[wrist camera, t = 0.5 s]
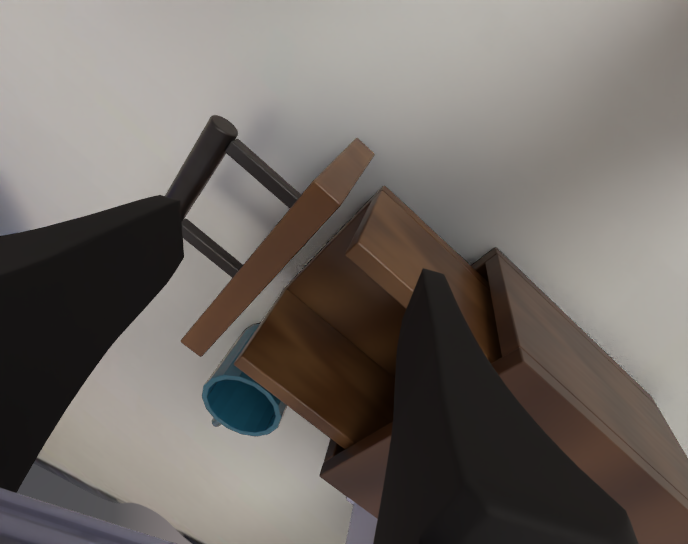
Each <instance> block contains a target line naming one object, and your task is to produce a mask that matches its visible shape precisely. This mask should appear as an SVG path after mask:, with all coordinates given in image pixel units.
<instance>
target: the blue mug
mask: <svg viewBox="0 0 688 544" xmlns="http://www.w3.org/2000/svg"><path fill="white" fill-rule="evenodd" d="M260 324H261V323H259V324H254V325H252V326H250V327H248V328H246V329H245V330H244V331H243V333H242V334H241V335H240V336H239V337H238V339H237V340H236V342H235V343H234V344H233V346H232V347H231V348H230V350H229V351H228V353H227V354H226V355H225V357H224V358H223V360H222V361H221V362H220V364H219V365H218V367H217V368H216V369H215V371H214V372H213V373H212V375H211V376H210V378H209V379H208V380H207V382H206V383H205V385H204V386H203V392H202V399H203V401H204V404H205V407H206V409H207V410H208V411H209V413H210V414H211V415H212V416H213V419H212V424H213V426H215V427H218V426H220V425H221V424H222V425H223V426H225V427H226V428H228V429H230V430H232V431H235V432H237V433H240V434H243V435H250V436H261V435H267V434H270V433H271V432H272V431H274V430H275V429H277V428H278V426H279V424H280V421H281V419H282V417H283V415H284V412H285V410H286V408H287V405H286V404H285V403H283V402H282V401H281V400H280V399H278V398H277V397H276V396H274V395H273V394H272V393H270V392H269V391H268V390H266V389H265V388H264V387H262V386H261V385H260V384H258V383H257V382H256V381H255V380H253V379H252V378H251V377H249V376H248V375H247V374H245V373H244V372H243V371H241V370H240V369H239V368H237V367H236V366H235V365H234V362H235V361H236V359H237V358H238V356H239V355H240V353H241V352H242V350H243V349H244V347H245V346H246V344H247V343H248V341H249V340H250V338H251V337H252V335H253V334H254V333H255V331H256V330H257V328H258V327H259V325H260Z"/></svg>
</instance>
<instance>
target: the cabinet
mask: <svg viewBox="0 0 688 544" xmlns="http://www.w3.org/2000/svg"><path fill="white" fill-rule="evenodd" d="M471 267H472V268H474V269H475V270H476V271H477V272H478V273H479V274H480V275H481V276H482V277H483V278H484V279H485V280H486V281H487V282H489V286H490V292H491V298H492V303H493V309H494V315H495V320H496V326H497V332H498V337H499V343H500V349H501V354H502V358H500V359H498V360H497V361H495V362H493V363H491V365H492V366H493V368H494V369H495V371H496V372H497V373H498V375H499V376H500V378H501V379H502V380H503V382H504V383H505V385H506V386H507V387H508V389H509V390H510V391H511V393H512V394H513V395H514V396H515V398H516V399H517V400H518V401H519V403H520V404H521V405H522V406H523V407H524V409H525V410H526V411H527V412H528V413H529V414H530V416H531V417H532V418H533V419H534V420H535V422H536V423H537V424H538V425H539V426H540V427H541V428H542V429H543V431H544V432H545V433H546V434H547V435H548V436H549V437H550V438H551V439H552V440H553V441H554V442H555V443H556V444H557V445H558V446H559V448H560V449H561V450H562V451H563V452H564V453H565V454H566V455H567V456H568V457H569V458H570V459H571V460H572V461H573V462H574V463H575V464H576V465H577V466H578V467H579V468H580V469H581V470H582V471H583V472H585V473H586V474H587V475H588V476H589V477H590V478H591V479H592V480H593V481H594V482H595V483H597V484H598V485H599V486H600V487H601V488H602V489H603V490H604V491H605V492H606V493H607V494H609V495H610V496H611V497H612V498H613V499H614V500H615V501H616V502H617V503H618V504H619V505H621V506H622V507H623V508H624V509H625V510H626V512H627V514H628V517H629V519H630V521H631V524H632V527H633V530H634V532H635V535H636V538H637V541H638V543H639V544H688V458H687V456H686V454H685V453H684V451H683V449H682V448H681V446H680V444H679V443H678V441H677V439H676V437H675V436H674V434H673V432H672V431H671V429H670V427H669V425H668V424H667V422H666V420H665V419H664V417H663V415H662V413H661V412H660V410H659V408H658V407H657V405H656V403H655V402H654V400H653V398H652V397H651V396H650V395H649V394H648V393H647V392H646V391H645V390H644V389H643V388H642V387H641V386H640V385H639V384H638V383H637V382H636V381H635V380H634V379H632V378H631V377H630V376H629V375H628V374H627V373H626V372H625V371H624V370H623V369H622V368H621V367H620V366H619V365H618V364H617V363H616V362H615V361H614V360H613V359H612V358H611V357H610V356H609V355H608V354H607V353H605V352H604V351H603V350H602V349H601V348H600V347H599V346H598V345H597V344H596V343H595V342H594V341H593V340H592V339H591V338H590V337H589V336H588V335H587V334H586V333H585V332H584V331H583V330H582V329H581V328H579V327H578V326H577V325H576V324H575V323H574V322H573V321H572V320H571V319H570V318H569V317H568V316H567V315H566V314H565V313H564V312H563V311H562V310H561V309H560V308H559V307H558V306H557V305H556V304H555V303H553V302H552V301H551V300H550V299H549V298H548V297H547V296H546V295H545V294H544V293H543V292H542V291H541V290H540V289H539V288H538V287H537V286H536V285H535V284H534V283H533V282H532V281H531V280H530V279H529V278H528V277H526V276H525V275H524V274H523V273H522V272H521V271H520V270H519V269H518V268H517V267H516V266H515V265H514V264H513V263H512V262H511V261H510V260H509V259H508V258H507V257H506V256H505V255H504V254H503V253H502V252H500V251H499V250H498V249H497V248H496V247H495V248H494V249H492V250H491V251H490V252H488V253H487V254H486V255H485V256H483V257H482V258H481V259H479V260H478V261H477V262H475V263H474V264H473V265H471ZM392 425H393V422H391V423H390V424H388V425H386V426H384V427H383V428H381V429H379V430H378V431H376V432H374V433H373V434H371V435H369V436H367V437H366V438H364V439H362V440H361V441H359V442H357V443H356V444H354V445H352V446H350V447H349V448H347V449H344V448H343V447H341V446H340V445H339V444H337V443H336V442H335V441H333V440H332V439H330V443H329V446H328V449H327V453H326V456H325V459H324V463H323V466H322V469H321V472H320V477H321V478H322V479H324V480H325V481H326V482H328V483H329V484H331V485H332V486H333V487H335V488H336V489H337V490H339V491H340V492H341V493H343V494H344V495H346V496H347V497H348V498H350V499H351V500H352V501H354V502H355V503H356V504H358V505H359V506H360V507H362V508H363V509H365V510H366V511H367V512H369V513H370V514H371V515H373V516H374V517H375V518H377V519H378V514H379V509H380V503H381V497H382V491H383V485H384V479H385V473H386V467H387V460H388V454H389V448H390V441H391V435H392Z"/></svg>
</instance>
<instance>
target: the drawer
mask: <svg viewBox="0 0 688 544" xmlns="http://www.w3.org/2000/svg"><path fill="white" fill-rule="evenodd" d="M237 135H238V131H237V129H236V128H235V126H234V125H233V124H232V123H231V122H229V121H228V120H227V119H225V118H223V117H221V116H218V115H213V116H211V117H210V119H209V121H208V123H207V124H206V126H205V128H204V130H203V131H202V133H201V135H200V136H199V138H198V140H197V142H196V143H195V145H194V147H193V148H192V150H191V152H190V154H189V155H188V157H187V159H186V160H185V162H184V164H183V166H182V167H181V169H180V171H179V173H178V174H177V176H176V178H175V179H174V181H173V183H172V185H171V186H170V188H169V190H168V191H167V193H166V195H165V197H169V198H172V199H176V200H180V208H181V222H182V236H183V238H184V239H185V240H186V241H188V242H189V243H190V244H191V245H193V246H194V247H195V248H196V249H197V250H199V251H200V252H201V253H202V254H204V255H205V256H206V257H207V258H209V259H210V260H211V261H212V262H214V263H215V264H216V265H217V266H218V267H220V268H221V269H222V270H223V271H225V272H226V273H227V274H228V275H230V276H231V277H232V279H231V280H230V282H229V283H228V284H227V285H226V286H225V288H224V289H223V290H222V291H221V293H220V294H219V295H218V296H217V297H216V299H215V300H214V301H213V302H212V303H211V305H210V306H209V307H208V308H207V309H206V311H205V312H204V313H203V314H202V315H201V317H200V318H199V319H198V320H197V321H196V323H195V324H194V325H193V326H192V327H191V329H190V330H189V331H188V332H187V333H186V335H185V336H184V337H183V338H182V340H181V343H183V344H184V345H185V346H187V347H188V348H189V349H191V350H192V351H193V352H195V353H196V354H197V355H199V356H200V357H201V356H203V355H204V354H205V352H206V351H207V350H208V349H209V348H210V347H211V346H212V345H213V344H214V343H215V342H216V340H217V339H218V338H219V337H220V336H221V335H222V334H223V333H224V332H225V331H226V330H227V329H228V327H229V326H230V325H231V324H232V323H233V322H234V321H235V320H236V319H237V318H238V317H239V315H240V314H241V313H242V312H243V311H244V310H245V309H246V308H247V307H248V306H249V305H250V303H251V302H252V301H253V300H254V299H255V298H256V297H257V296H258V295H259V294H260V293H261V291H262V290H263V289H264V288H265V287H266V286H267V285H268V284H269V283H270V282H271V281H272V280H273V278H274V277H275V276H276V275H277V274H278V273H279V272H280V271H281V270H282V269H283V268H284V266H285V265H286V264H287V263H288V262H289V261H290V260H291V259H292V258H293V257H294V256H295V254H296V253H297V252H298V251H299V250H300V249H301V248H302V247H303V246H304V245H305V244H306V243H307V241H308V240H309V239H310V238H311V237H312V236H313V235H314V234H315V233H316V232H317V231H318V229H319V228H320V227H321V226H322V225H323V224H324V223H325V222H326V221H327V220H328V219H329V217H330V216H331V215H332V214H333V213H334V212H335V211H336V210H337V209H338V208H339V207H340V205H341V204H342V203H343V201H344V200H345V198H346V197H347V195H348V194H349V192H350V191H351V189H352V188H353V186H354V185H355V183H356V182H357V180H358V179H359V177H360V176H361V174H362V173H363V171H364V170H365V168H366V167H367V166H368V164H369V163H370V161H371V160H372V158H373V157H374V155H375V154H374V153H373V152H372V151H371V150H370V149H369V148H368V147H367V146H366V145H365V144H364V143H362V142H361V141H360V140H359V139H358V138H356V139H355V140H354V141H353V142H352V143H351V144H350V145H349V146H348V147H347V148H346V149H345V150H344V151H343V152H342V153H341V154H340V155H339V156H338V157H337V158H336V159H335V160H334V161H333V162H332V163H331V164H330V165H329V166H328V167H327V168H326V169H325V170H324V171H323V172H322V173H321V174H320V175H319V176H318V177H317V178H315V179H314V180H313V182H312V183H311V184H310V185H309V186H308V188H307V189H306V190H305V191H304V192H303V194H302V195H301V194H300V193H299V192H298V191H296V190H295V189H294V188H293V187H292V186H291V185H290V184H289V183H287V182H286V181H285V180H284V179H283V178H282V177H281V176H280V175H278V174H277V173H276V172H275V171H274V170H273V169H272V168H271V167H269V166H268V165H267V164H266V163H265V162H264V161H263V160H261V159H260V158H259V157H258V156H257V155H256V154H255V153H254V152H252V151H251V150H250V149H249V148H248V147H247V146H246V145H245V144H243V143H242V142H241V141H240V140H239V139H236V137H237ZM235 139H236V140H235ZM226 153H227V154H228V155H229V156H230V157H231V158H233V159H234V160H235V161H236V162H237V163H238V164H239V165H241V166H242V167H243V168H244V169H245V170H246V171H247V172H249V173H250V174H251V175H252V176H253V177H254V178H256V179H257V180H258V181H259V182H260V183H261V184H262V185H264V186H265V187H266V188H267V189H268V190H269V191H270V192H272V193H273V194H274V195H275V196H276V197H277V198H278V199H280V200H281V201H282V202H283V203H284V204H285V205H286V206H288V207H289V208H290V209H289V211H288V212H287V213H286V214H285V215H284V217H283V218H282V219H281V220H280V221H279V223H278V224H277V225H276V226H275V227H274V229H273V230H272V231H271V232H270V233H269V235H268V236H267V237H266V238H265V239H264V241H263V242H262V243H261V244H260V245H259V247H258V248H257V249H256V250H255V252H254V253H253V254H252V255H251V256H250V258H249V259H248V260H247V261H246V262H245V264H244V265H242V264H241V263H240V262H239V261H238V260H236V259H235V258H234V257H233V256H231V255H230V254H229V253H228V252H227V251H225V250H224V249H223V248H222V247H220V246H219V245H218V244H217V243H216V242H214V241H213V240H212V239H211V238H209V237H208V236H207V235H206V234H205V233H203V232H202V231H201V230H200V229H198V228H197V227H196V226H195V225H194V224H192V223H191V222H190V221H189V220H188V219H184V218H185V217H186V215H187V213H188V212H189V210H190V209H191V207H192V206H193V204H194V203H195V201H196V199H197V198H198V196H199V195H200V193H201V192H202V190H203V189H204V187H205V185H206V184H207V182H208V181H209V179H210V178H211V176H212V175H213V173H214V171H215V170H216V168H217V167H218V165H219V164H220V162H221V161H222V159H223V157H224V156H225V154H226ZM423 268H424V269H428V270H432V271H435V272H439V273H442V274H444V275H445V277H446V279H447V281H448V283H449V286H450V288H451V290H452V292H453V295H454V297H455V299H456V301H457V303H458V306H459V308H460V310H461V312H462V314H463V316H464V318H465V320H466V322H467V324H468V326H469V328H470V330H471V331H472V333H473V335H474V337H475V339H476V341H477V342H478V344H479V346H480V347H481V349H482V351H483V352H484V354H485V356H486V357H487V359H488V360H489V362H490V363H493V362H495V361H497V360H498V359H500V358H502V354H501V349H500V343H499V337H498V332H497V326H496V320H495V315H494V309H493V303H492V298H491V292H490V286H489V282H487V281H486V280H485V279H484V278H483V277H482V276H481V275H480V274H479V273H478V272H477V271H476V270H475V269H474V268H472V267H471V266H470V265H469V264H468V263H467V262H466V261H465V260H464V259H463V258H462V257H461V256H460V255H459V254H458V253H456V252H455V251H454V250H453V249H452V248H451V247H450V246H449V245H448V244H447V243H446V242H445V241H444V240H443V239H441V238H440V237H439V236H438V235H437V234H436V233H435V232H434V231H433V230H432V229H431V228H430V227H429V226H428V225H426V224H425V223H424V222H423V221H422V220H421V219H420V218H419V217H418V216H417V215H416V214H415V213H414V212H413V211H412V210H410V209H409V208H408V207H407V206H406V205H405V204H404V203H403V202H402V201H401V200H400V199H399V198H398V197H397V196H395V195H394V194H393V193H392V192H391V191H390V190H389V189H388V188H387V187H386V186H382V188H381V189H380V190H379V191H378V192H377V193H376V194H375V195H374V196H373V197H372V198H371V199H370V200H369V201H368V202H367V203H366V204H365V205H364V206H363V207H362V208H361V209H360V210H359V211H358V212H357V213H356V215H355V216H354V217H353V218H352V219H351V220H350V221H349V222H348V223H347V224H346V225H345V226H344V227H343V228H342V229H341V230H340V231H339V232H338V233H337V234H336V235H335V236H334V237H333V238H332V239H331V240H330V242H329V243H328V244H327V245H326V246H325V247H324V248H323V249H322V250H321V251H320V252H319V253H318V254H317V255H316V256H315V257H314V258H313V259H312V260H311V261H310V262H309V263H308V264H307V265H306V266H305V267H304V269H303V270H302V271H301V272H300V273H299V274H298V275H297V276H296V277H295V278H294V279H293V280H292V281H291V282H290V283H289V284H288V285H287V286H286V287H285V288H284V290H283V291H282V293H281V294H280V296H279V297H278V299H277V300H276V301H275V303H274V304H273V306H272V307H271V309H270V310H269V312H268V313H267V315H266V316H265V318H264V319H263V321H262V322H261V324H260V325H259V327H258V328H257V330H256V331H255V333H254V334H253V335H252V337H251V338H250V340H249V341H248V343H247V344H246V346H245V347H244V349H243V350H242V352H241V353H240V355H239V356H238V358H237V359H236V361H235V362H234V365H235V366H236V367H237V368H239V369H240V370H241V371H243V372H244V373H245V374H247V375H248V376H249V377H251V378H252V379H253V380H255V381H256V382H257V383H258V384H260V385H261V386H262V387H264V388H265V389H266V390H268V391H269V392H270V393H272V394H273V395H274V396H276V397H277V398H278V399H280V400H281V401H282V402H283V403H285V404H286V405H287V406H289V407H290V408H291V409H293V410H294V411H295V412H297V413H298V414H299V415H301V416H302V417H303V418H304V419H306V420H307V421H308V422H310V423H311V424H312V425H314V426H315V427H316V428H318V429H319V430H320V431H322V432H323V433H324V434H325V435H327V436H328V437H329V438H331V439H332V440H333V441H335V442H336V443H337V444H339V445H340V446H341V447H343V448H344V449H347V448H349V447H350V446H352V445H354V444H356V443H357V442H359V441H361V440H362V439H364V438H366V437H367V436H369V435H371V434H373V433H374V432H376V431H378V430H379V429H381V428H383V427H384V426H386V425H388V424H390V423H391V422H393V410H394V391H395V372H396V355H397V345H398V340H399V334H400V329H401V323H402V319H403V316H404V314H405V311H406V309H407V306H408V304H409V301H410V299H411V296H412V294H413V291H414V289H415V286H416V284H417V281H418V279H419V276H420V274H421V271H422V269H423Z"/></svg>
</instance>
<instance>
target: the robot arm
mask: <svg viewBox="0 0 688 544" xmlns="http://www.w3.org/2000/svg"><path fill="white" fill-rule="evenodd" d="M183 258H184V250H183V236H182V222H181V208H180V200H176V199H172V198H169V197H165V196H162V195H158V196H153V197H149V198H145V199H141V200H138V201H134V202H131V203H128V204H124V205H121V206H118V207H114V208H111V209H108V210H104V211H101V212H98V213H94V214H91V215H88V216H84V217H81V218H77V219H73V220H69V221H65V222H62V223H58V224H54V225H50V226H47V227H43V228H38V229H34V230H30V231H25V232H20V233H15V234H10V235H5V236H0V544H176V543H173V542H170V541H167V540H163V539H160V538H157V537H154V536H150V535H148V534H145V533H141V532H138V531H135V530H132V529H129V528H125V527H122V526H119V525H116V524H113V523H110V522H107V521H103V520H100V519H97V518H94V517H91V516H88V515H84V514H81V513H78V512H75V511H72V510H69V509H65V508H62V507H59V506H56V505H53V504H50V503H47V502H43V501H40V500H37V499H34V498H30V497H28V496H24V495H21V494H18V493H17V491H18V489H19V487H20V485H21V484H22V482H23V480H24V478H25V477H26V475H27V473H28V472H29V470H30V468H31V466H32V464H33V463H34V461H35V459H36V458H37V456H38V454H39V452H40V451H41V449H42V447H43V446H44V444H45V442H46V441H47V439H48V438H49V436H50V434H51V433H52V431H53V430H54V428H55V426H56V425H57V423H58V422H59V420H60V418H61V417H62V415H63V414H64V412H65V410H66V409H67V407H68V406H69V404H70V403H71V401H72V400H73V399H74V397H75V396H76V394H77V393H78V391H79V390H80V388H81V387H82V385H83V384H84V382H85V381H86V379H87V378H88V377H89V375H90V374H91V372H92V371H93V370H94V368H95V367H96V365H97V364H98V363H99V361H100V360H101V359H102V357H103V356H104V354H105V353H106V352H107V350H108V349H109V348H110V347H111V346H112V344H113V343H114V342H115V341H116V340H117V338H118V337H119V336H120V335H121V334H122V333H123V332H124V331H125V329H126V328H127V327H128V326H129V325H130V324H131V323H132V322H133V321H134V320H135V318H136V317H137V316H138V315H139V314H140V313H141V312H142V311H143V310H144V309H145V307H146V306H147V305H148V304H149V303H150V302H151V301H152V300H153V299H154V297H155V296H156V295H157V294H158V293H159V292H160V291H161V290H162V288H163V287H164V286H165V285H166V284H167V282H168V281H169V280H170V278H171V277H172V275H173V274H174V272H175V271H176V269H177V268H178V266H179V264H180V263H181V261H182V260H183ZM346 499H347V501H348V502H350V503H351V504H352V505H353V509H352V514H351V519H350V524H349V529H348V534H347V539H346V543H345V544H639V543H638V541H637V538H636V535H635V532H634V530H633V527H632V524H631V521H630V519H629V517H628V514H627V512H626V510H625V509H624V508H623V507H622V506H621V505H619V504H618V503H617V502H616V501H615V500H614V499H613V498H612V497H611V496H610V495H609V494H607V493H606V492H605V491H604V490H603V489H602V488H601V487H600V486H599V485H598V484H597V483H595V482H594V481H593V480H592V479H591V478H590V477H589V476H588V475H587V474H586V473H585V472H583V471H582V470H581V469H580V468H579V467H578V466H577V465H576V464H575V463H574V462H573V461H572V460H571V459H570V458H569V457H568V456H567V455H566V454H565V453H564V452H563V451H562V450H561V449H560V448H559V446H558V445H557V444H556V443H555V442H554V441H553V440H552V439H551V438H550V437H549V436H548V435H547V434H546V433H545V432H544V431H543V429H542V428H541V427H540V426H539V425H538V424H537V423H536V422H535V420H534V419H533V418H532V417H531V416H530V414H529V413H528V412H527V411H526V410H525V409H524V407H523V406H522V405H521V404H520V403H519V401H518V400H517V399H516V398H515V396H514V395H513V394H512V393H511V391H510V390H509V389H508V387H507V386H506V385H505V383H504V382H503V380H502V379H501V378H500V376H499V375H498V373H497V372H496V371H495V369H494V368H493V366H492V365H491V363H490V362H489V360H488V359H487V357H486V356H485V354H484V352H483V351H482V349H481V347H480V346H479V344H478V342H477V341H476V339H475V337H474V335H473V333H472V331H471V330H470V328H469V326H468V324H467V322H466V320H465V318H464V316H463V314H462V312H461V310H460V308H459V306H458V303H457V301H456V299H455V297H454V295H453V292H452V290H451V288H450V286H449V283H448V281H447V279H446V277H445V275H444V274H442V273H439V272H435V271H432V270H428V269H424V268H423V269H422V271H421V274H420V276H419V279H418V281H417V284H416V286H415V289H414V291H413V294H412V296H411V299H410V301H409V304H408V306H407V309H406V311H405V314H404V316H403V319H402V323H401V329H400V334H399V340H398V345H397V355H396V372H395V391H394V410H393V425H392V435H391V441H390V448H389V454H388V460H387V467H386V473H385V479H384V485H383V491H382V497H381V503H380V509H379V514H378V519H377V518H375V517H374V516H373V515H371V514H370V513H369V512H367V511H366V510H365V509H363V508H362V507H360V506H359V505H358V504H356V503H355V502H354V501H352V500H351V499H350V498H348V497H346Z"/></svg>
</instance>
